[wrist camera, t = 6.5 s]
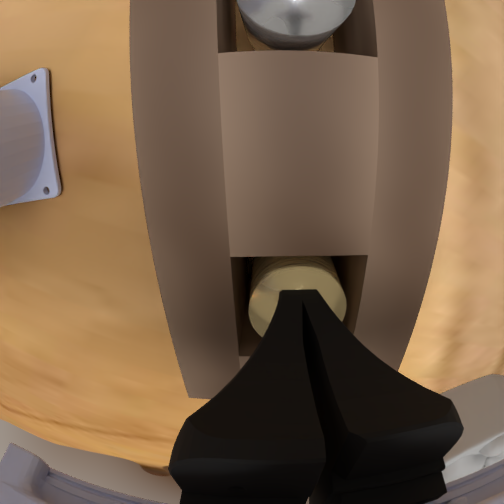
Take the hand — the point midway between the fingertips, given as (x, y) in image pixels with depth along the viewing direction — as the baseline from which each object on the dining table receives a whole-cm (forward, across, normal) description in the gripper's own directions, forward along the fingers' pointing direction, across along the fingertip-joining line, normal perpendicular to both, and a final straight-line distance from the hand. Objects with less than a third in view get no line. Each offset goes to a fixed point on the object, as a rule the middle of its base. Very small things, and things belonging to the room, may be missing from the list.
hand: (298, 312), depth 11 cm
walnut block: (+6, 0, -6) cm, 8 cm away
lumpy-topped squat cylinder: (+6, -20, +20) cm, 29 cm away
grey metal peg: (+6, 0, -11) cm, 13 cm away
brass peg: (+6, 0, 0) cm, 6 cm away
